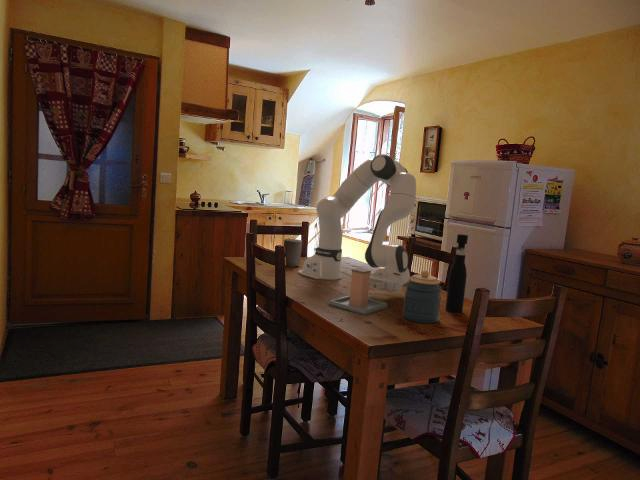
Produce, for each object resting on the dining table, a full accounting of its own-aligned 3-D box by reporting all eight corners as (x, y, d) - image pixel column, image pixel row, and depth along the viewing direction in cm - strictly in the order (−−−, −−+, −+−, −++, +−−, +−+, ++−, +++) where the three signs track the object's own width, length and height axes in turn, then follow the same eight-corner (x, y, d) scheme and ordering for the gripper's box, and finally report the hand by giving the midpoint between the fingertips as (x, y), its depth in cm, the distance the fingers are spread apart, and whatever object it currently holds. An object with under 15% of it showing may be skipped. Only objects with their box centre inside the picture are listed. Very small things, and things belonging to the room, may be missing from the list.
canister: (415, 324, 163) (421, 274, 161) (395, 313, 175) (399, 266, 172) (446, 322, 168) (451, 274, 166) (424, 312, 180) (429, 266, 178)
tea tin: (348, 304, 180) (351, 269, 178) (356, 302, 184) (359, 268, 183) (360, 307, 177) (363, 271, 175) (367, 305, 181) (370, 270, 179)
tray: (328, 305, 179) (329, 300, 179) (352, 298, 192) (353, 294, 192) (364, 315, 170) (364, 310, 169) (386, 307, 182) (387, 303, 182)
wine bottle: (459, 314, 181) (468, 236, 177) (443, 310, 184) (452, 234, 181) (464, 311, 187) (473, 235, 183) (448, 307, 190) (456, 233, 186)
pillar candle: (279, 265, 249) (282, 237, 247) (284, 262, 259) (286, 235, 257) (298, 268, 248) (300, 239, 246) (301, 264, 257) (304, 237, 255)
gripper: (363, 267, 200) (344, 270, 189) (406, 276, 187) (388, 280, 177) (362, 281, 201) (342, 285, 190) (404, 292, 188) (386, 297, 177)
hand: (365, 283), depth 183 cm, fingers open, 8 cm apart
